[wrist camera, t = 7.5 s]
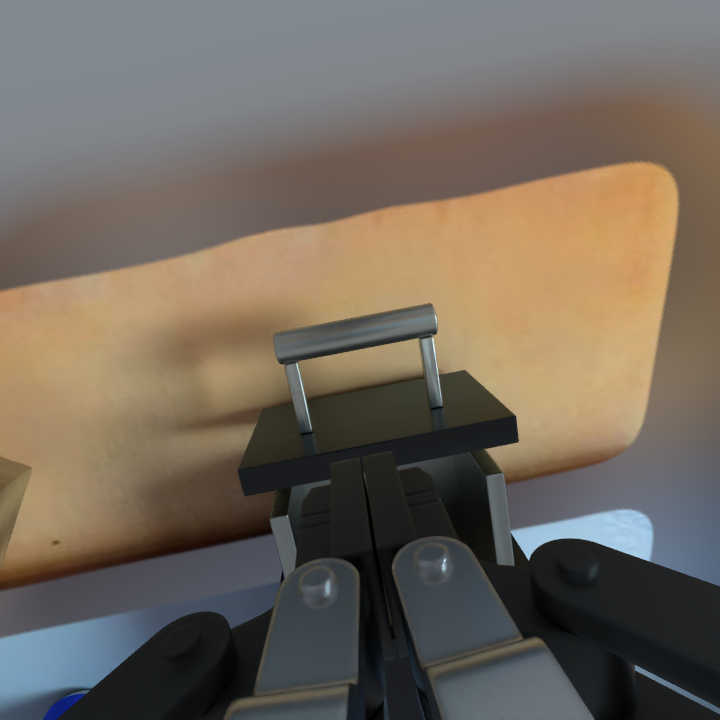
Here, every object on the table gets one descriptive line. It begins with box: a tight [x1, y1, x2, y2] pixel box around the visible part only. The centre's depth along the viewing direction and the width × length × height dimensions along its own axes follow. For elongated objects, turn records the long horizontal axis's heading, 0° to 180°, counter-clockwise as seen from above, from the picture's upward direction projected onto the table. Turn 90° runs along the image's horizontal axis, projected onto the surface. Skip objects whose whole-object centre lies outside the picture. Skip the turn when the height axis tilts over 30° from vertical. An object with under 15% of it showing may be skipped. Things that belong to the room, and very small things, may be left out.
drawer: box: [238, 303, 519, 625], centre depth 23 cm, size 17×11×7 cm, turn 10°
